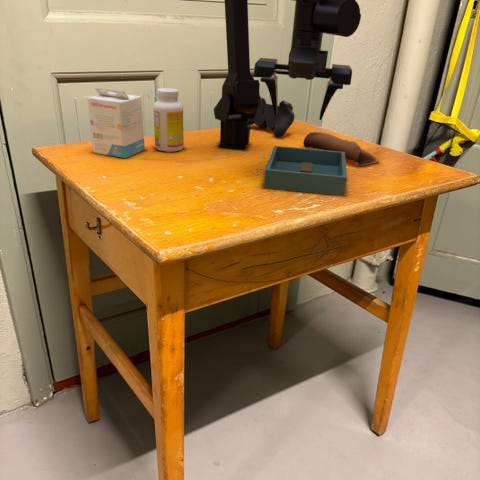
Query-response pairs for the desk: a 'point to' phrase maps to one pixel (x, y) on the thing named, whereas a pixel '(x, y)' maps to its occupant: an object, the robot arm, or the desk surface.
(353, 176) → the desk surface
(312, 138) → the sunglasses case
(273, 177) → the cutlery tray
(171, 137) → the supplement bottle
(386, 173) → the desk surface
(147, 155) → the desk surface
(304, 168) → the brown and grey bar
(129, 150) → the ink box
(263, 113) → the game controller
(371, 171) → the desk surface
